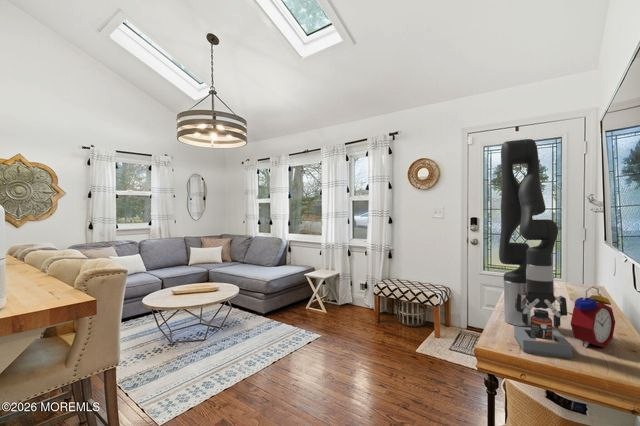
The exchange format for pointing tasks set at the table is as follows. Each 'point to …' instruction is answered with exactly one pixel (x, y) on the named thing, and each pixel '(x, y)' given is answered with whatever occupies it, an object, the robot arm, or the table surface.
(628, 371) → the table surface
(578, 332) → the alarm clock
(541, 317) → the supplement bottle
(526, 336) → the socket holder
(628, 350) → the table surface
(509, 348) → the table surface
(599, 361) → the table surface
